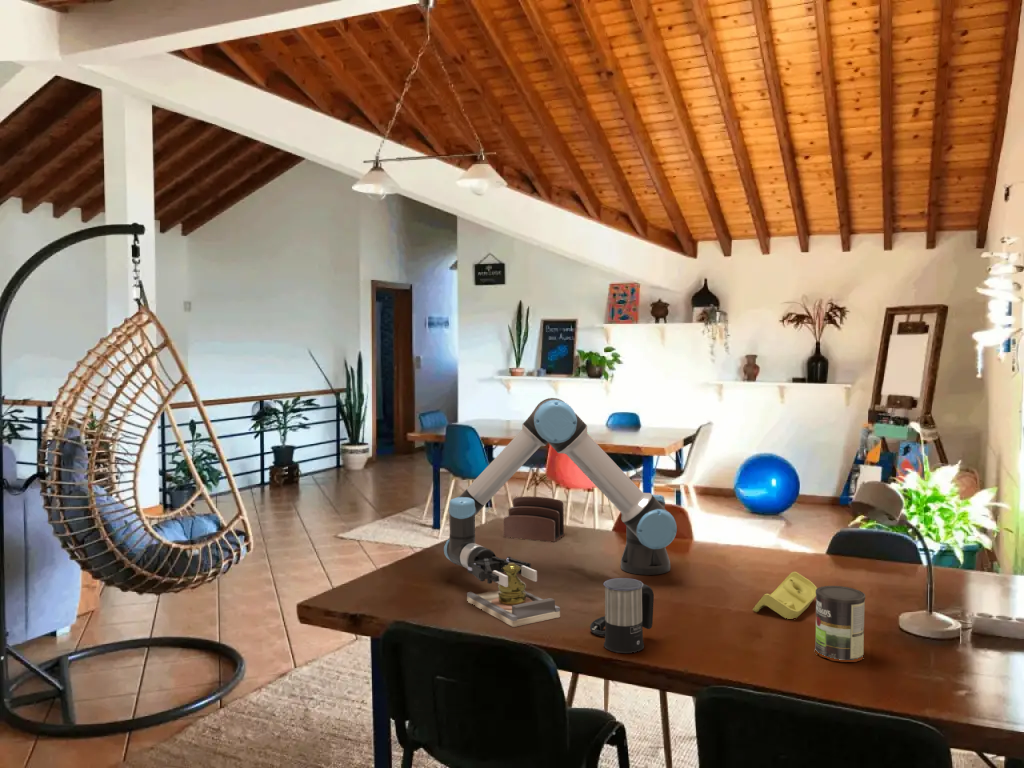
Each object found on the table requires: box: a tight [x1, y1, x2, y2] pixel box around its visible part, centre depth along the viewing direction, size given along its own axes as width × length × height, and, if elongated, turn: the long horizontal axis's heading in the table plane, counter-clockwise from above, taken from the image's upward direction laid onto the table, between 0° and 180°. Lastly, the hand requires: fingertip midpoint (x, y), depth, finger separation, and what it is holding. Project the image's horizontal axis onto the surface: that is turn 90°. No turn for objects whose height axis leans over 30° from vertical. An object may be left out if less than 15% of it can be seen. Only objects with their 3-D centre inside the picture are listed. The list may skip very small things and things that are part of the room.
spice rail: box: [466, 589, 561, 628], centre depth 217 cm, size 24×14×4 cm, turn 31°
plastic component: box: [752, 571, 818, 620], centre depth 217 cm, size 20×7×10 cm
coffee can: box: [814, 585, 866, 660], centre depth 184 cm, size 10×10×14 cm
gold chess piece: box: [497, 563, 527, 605], centre depth 217 cm, size 7×7×10 cm
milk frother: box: [589, 577, 655, 654], centre depth 193 cm, size 14×16×15 cm
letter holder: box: [503, 496, 565, 543], centre depth 298 cm, size 10×20×14 cm, turn 67°
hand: (521, 578), depth 213 cm, fingers open, 8 cm apart
